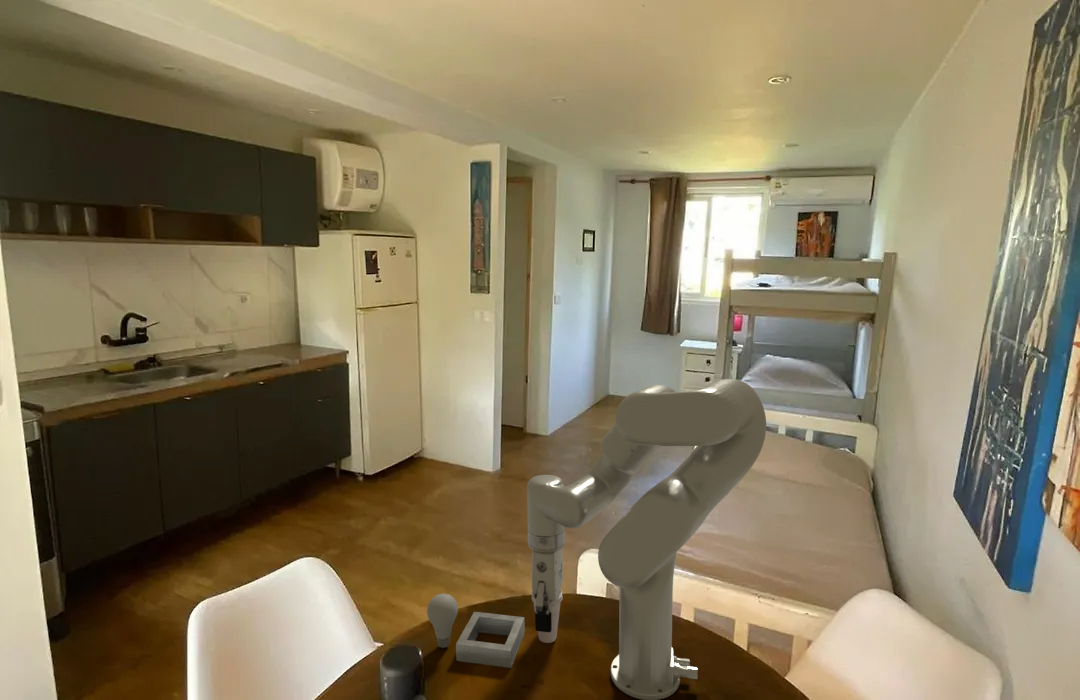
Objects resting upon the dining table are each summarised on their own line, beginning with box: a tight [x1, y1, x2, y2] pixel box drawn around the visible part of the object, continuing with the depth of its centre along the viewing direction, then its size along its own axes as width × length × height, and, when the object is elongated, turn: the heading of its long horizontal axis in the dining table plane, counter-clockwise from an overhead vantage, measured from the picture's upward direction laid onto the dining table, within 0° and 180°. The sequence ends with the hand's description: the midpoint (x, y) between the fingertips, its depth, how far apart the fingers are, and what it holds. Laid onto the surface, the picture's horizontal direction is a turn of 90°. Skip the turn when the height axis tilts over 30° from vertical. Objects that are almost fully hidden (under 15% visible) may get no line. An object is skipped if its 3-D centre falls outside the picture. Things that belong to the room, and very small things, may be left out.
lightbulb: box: [426, 593, 459, 649], centre depth 112 cm, size 6×6×11 cm
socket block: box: [455, 611, 526, 669], centre depth 113 cm, size 11×11×4 cm
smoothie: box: [531, 589, 563, 644], centre depth 115 cm, size 6×6×14 cm
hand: (547, 618), depth 115 cm, fingers open, 7 cm apart
